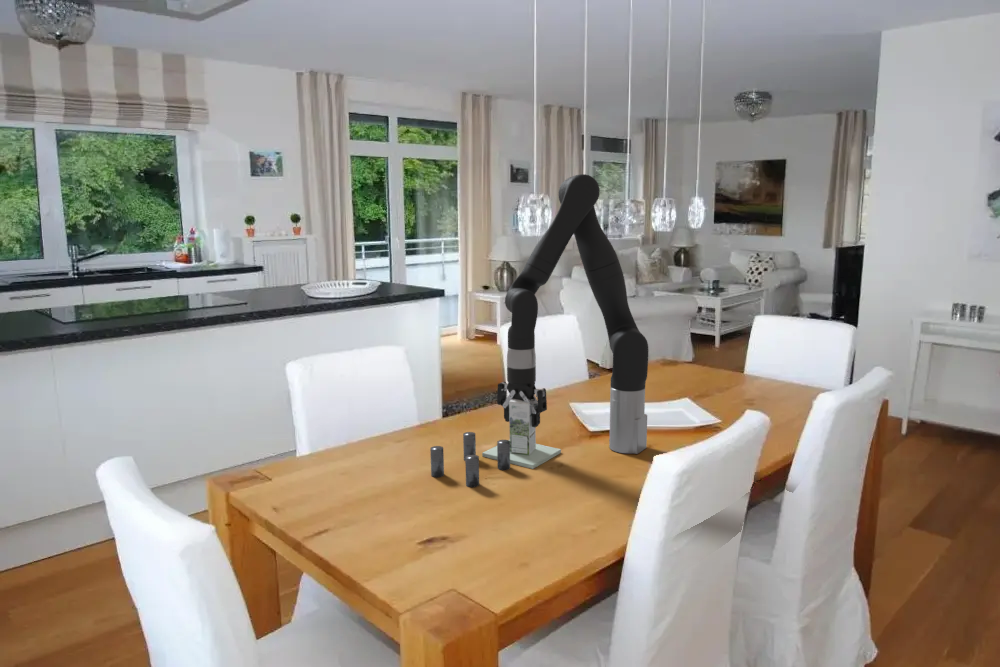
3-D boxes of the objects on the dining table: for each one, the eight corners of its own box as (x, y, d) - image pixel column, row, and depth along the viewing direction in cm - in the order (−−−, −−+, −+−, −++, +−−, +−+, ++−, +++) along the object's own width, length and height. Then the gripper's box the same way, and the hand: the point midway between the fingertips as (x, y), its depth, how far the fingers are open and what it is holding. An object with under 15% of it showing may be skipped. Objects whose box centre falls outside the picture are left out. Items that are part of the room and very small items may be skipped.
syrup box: (536, 448, 189) (536, 396, 187) (529, 456, 184) (529, 402, 181) (516, 446, 191) (516, 394, 189) (509, 453, 186) (508, 400, 183)
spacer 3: (481, 484, 169) (481, 456, 167) (473, 488, 166) (473, 460, 165) (471, 481, 171) (470, 453, 169) (463, 485, 168) (462, 457, 167)
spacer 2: (478, 458, 185) (477, 433, 184) (470, 462, 183) (470, 436, 182) (468, 456, 187) (468, 431, 186) (461, 459, 185) (460, 434, 183)
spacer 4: (512, 467, 179) (512, 441, 178) (505, 471, 177) (505, 444, 175) (502, 464, 181) (502, 438, 180) (495, 468, 178) (494, 442, 177)
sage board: (561, 452, 189) (561, 449, 189) (532, 468, 178) (532, 465, 178) (512, 441, 198) (512, 438, 198) (482, 456, 187) (482, 452, 187)
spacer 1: (446, 474, 175) (446, 447, 174) (438, 478, 172) (437, 451, 171) (436, 471, 177) (436, 445, 176) (428, 475, 174) (427, 448, 173)
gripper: (552, 365, 182) (552, 424, 185) (507, 358, 190) (507, 415, 193) (536, 370, 176) (536, 432, 179) (490, 363, 184) (491, 422, 187)
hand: (521, 423), depth 186 cm, fingers open, 8 cm apart
